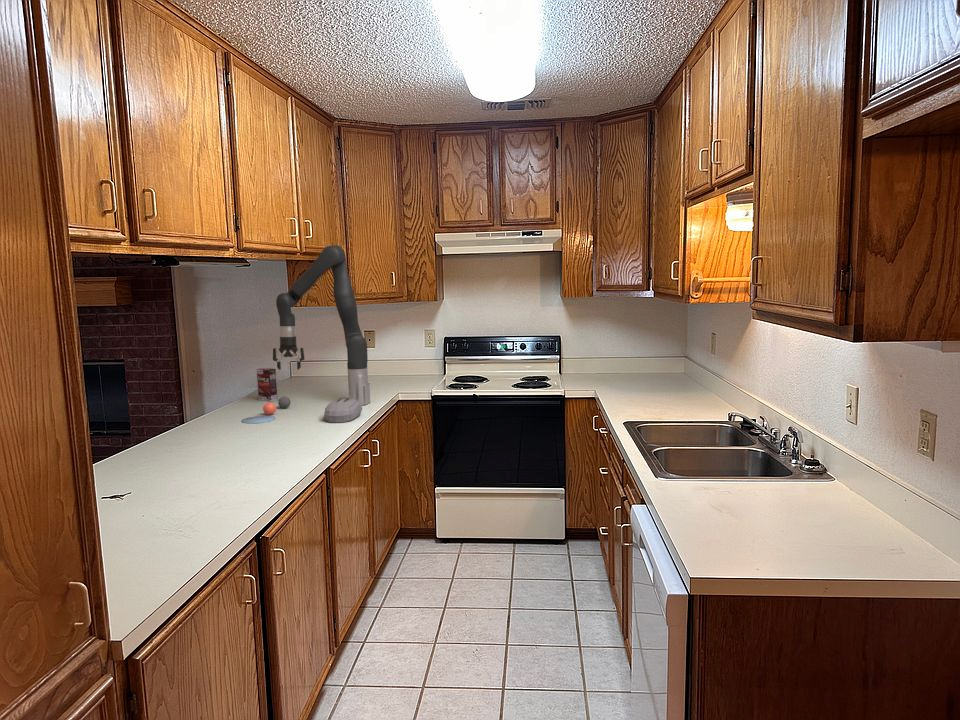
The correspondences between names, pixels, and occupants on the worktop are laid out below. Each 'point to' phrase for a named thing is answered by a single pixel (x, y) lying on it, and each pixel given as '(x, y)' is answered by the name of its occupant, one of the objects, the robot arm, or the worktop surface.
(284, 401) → the grey smooth round ball
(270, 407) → the red ball
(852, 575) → the worktop surface
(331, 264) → the robot arm
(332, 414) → the soft grey pack
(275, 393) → the supplement box
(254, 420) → the blue flat disc
